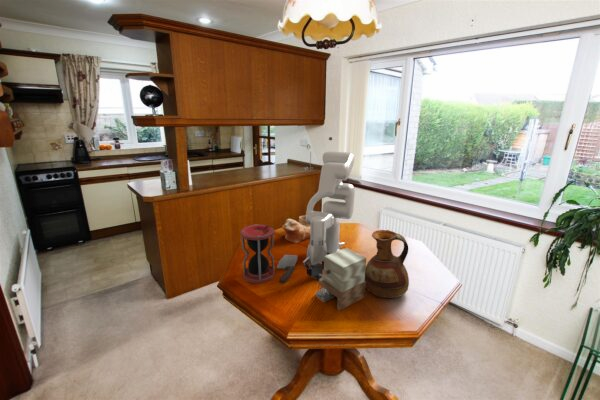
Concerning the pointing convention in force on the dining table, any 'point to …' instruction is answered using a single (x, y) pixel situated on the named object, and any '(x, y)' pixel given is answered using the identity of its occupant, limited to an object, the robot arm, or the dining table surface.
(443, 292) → the dining table surface
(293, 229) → the tan rock
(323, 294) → the rectangular block
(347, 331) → the dining table surface
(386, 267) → the ceramic pitcher
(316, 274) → the hammer
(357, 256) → the cabinet
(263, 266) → the hourglass
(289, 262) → the cleaver
